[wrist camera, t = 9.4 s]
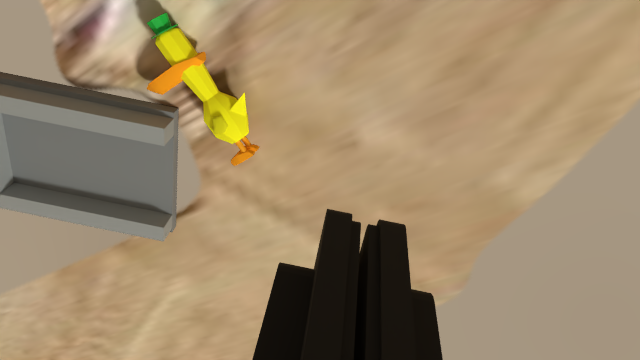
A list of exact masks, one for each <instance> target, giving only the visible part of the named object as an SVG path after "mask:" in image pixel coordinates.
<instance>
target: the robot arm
mask: <svg viewBox="0 0 640 360" xmlns="http://www.w3.org/2000/svg"><path fill="white" fill-rule="evenodd" d="M360 231H361V223H360V222H355V221H352V214H350V213H345V212H340V211H335V210H330V209H327V212H326V216H325V220H324V225H323V230H322V234H321V239H320V243H319V248H318V253H317V257H316V262H315V266H314V269H309V268H305V267H300V266H295V265H290V264H285V263H279V265H278V269H277V272H276V276H275V279H274V283H273V287H272V290H271V294H270V298H269V301H268V305H267V309H266V312H265V316H264V319H263V323H262V327H261V330H260V334H259V338H258V341H257V345H256V349H255V352H254V356H253V360H442V352H441V345H440V339H439V331H438V324H437V317H436V309H435V302H434V298H433V296H432V294H431V293H427V292H422V291H417V290H412V289H411V283H410V271H409V259H408V247H407V236H406V227H405V225H404V224H399V223H394V222H389V221H384V220H379V221H378V223H377V226H375V225H370V224H368V226H367V229H366V232H365V236H364V239H363V243H362V247H361V250H360ZM359 250H360V254H359Z"/></svg>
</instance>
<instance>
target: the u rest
mask: <svg viewBox="0 0 640 360" xmlns="http://www.w3.org/2000/svg"><path fill="white" fill-rule="evenodd" d="M177 151H178V108H175V107H170V106H165V105H160V104H155V103H151V102H145V101H140V100H136V99H131V98H126V97H121V96H116V95H111V94H106V93H101V92H96V91H91V90H87V89H82V88H77V87H72V86H67V85H62V84H57V83H51V82H47V81H42V80H37V79H32V78H27V77H22V76H18V75H13V74H8V73H3V72H0V208H2V209H7V210H12V211H17V212H22V213H27V214H32V215H37V216H42V217H46V218H51V219H56V220H61V221H66V222H71V223H76V224H81V225H86V226H90V227H95V228H100V229H105V230H110V231H115V232H120V233H125V234H130V235H135V236H139V237H144V238H149V239H154V240H159V241H164V240H165V238H166V237H167V235H168V234H169V232H173V230H174V228H175V227H176V198H177V197H176V196H177V153H178V152H177Z"/></svg>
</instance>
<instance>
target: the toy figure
mask: <svg viewBox="0 0 640 360" xmlns="http://www.w3.org/2000/svg"><path fill="white" fill-rule="evenodd" d="M147 24H148V25H149V26H150V28H151V29H152V30H153V31H154V33H155V34H156V35H155V36H153V37H152V39H153V38H155V37H156V46H157V47H158V48H159V50H160V51H161V52H162V54H163V55H164V57H165V58H166V59H167V61H168V62H169V63H170V65H171V66H172V67H171V68H169V69H168V70H167V71H165V72H164V73H163V74H161V75H160V76H158V77H157V78H156V79H154V80H153V81H152V82H150V83H149V84H148V87H147V89H148V90H150V91H152V92H155V93H159V94H164V93H165V92H167V91H168V90H170V89H171V88H173V87H174V86H176V85H177V84H179V83H180V82H182V81H184V82H185V83H186V84H187V85H188V86H189V87H190V89H191V90H192V91H193V92H194V93H195V94H196V95H197V96H198V97H199V98H200V99H201V100H202V102H203V109H204V122H205V123H206V124H207V126H208V127H209V128H210V130H211V131H212V133H213V134H214V135H215V137H216V138H219V139H221V140H224V141H226V142H229V143H231V144H233V143H236V145H237V146H238V147H239V149H240V151H239V152H238V153H237V154H236V155H235V156H234V157H233V158H232V160H231V163H232V164H233V165H234V166H235V165H237V164H240V163H241V162H243V161H245V160H246V159H248V158H250V157H251V156H253V155H254V153H255V151H257V150H258V149H259V146H257V145H254V144H253V145H251V143H250V142H249V140H248V139H247V138H246V135H247V134H248V133H249V125H248V114H247V113H246V103H245V93H244V94H243V95H242V96H241V97H240V99H239V100H237V98H235V97H233V96H230V95H227V94H225V93H222V92H220V91H219V90H218V88H217V86H216V85H215V83H214V81H213V79H212V77H211V76H210V74H209V72H208V70H207V68H206V67H205V65H204V61H205V60H206V53H205V52H201V53H197V52H196V50H195V49H194V48H193V46H192V45H191V43H190V42H189V41H188V39H187V38H186V36H185V35H184V33H183V32H182V31H181V29H180V28H174V27H176V26H178V24H176V25H174V26H172V25H171V22H170V19H169V17H168V14H167V13H165V14H162V15H160V16H158V17H156V18H155V19H153V20H151V21H149V22H148V23H147ZM240 140H242V141H243V142H244V144H245V145H246V146H244V145H243V144H242V143H241V141H240Z"/></svg>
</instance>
